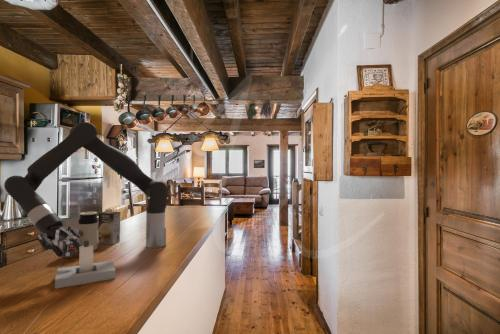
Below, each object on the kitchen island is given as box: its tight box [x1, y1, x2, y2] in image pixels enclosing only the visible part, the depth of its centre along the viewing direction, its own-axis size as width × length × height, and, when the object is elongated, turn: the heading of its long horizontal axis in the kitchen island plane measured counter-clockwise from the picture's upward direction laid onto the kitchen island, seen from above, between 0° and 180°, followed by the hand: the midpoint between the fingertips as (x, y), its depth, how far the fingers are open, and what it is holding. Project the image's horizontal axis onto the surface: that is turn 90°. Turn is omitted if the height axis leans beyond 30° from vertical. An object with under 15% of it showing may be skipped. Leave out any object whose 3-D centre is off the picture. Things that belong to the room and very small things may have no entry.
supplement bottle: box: [61, 234, 79, 259], centre depth 127 cm, size 6×6×11 cm
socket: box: [54, 260, 116, 290], centre depth 103 cm, size 18×12×3 cm, turn 121°
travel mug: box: [78, 211, 99, 252], centre depth 137 cm, size 8×8×18 cm
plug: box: [78, 240, 94, 273], centre depth 103 cm, size 4×4×13 cm
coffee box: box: [97, 210, 121, 245], centre depth 152 cm, size 9×6×16 cm
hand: (71, 252), depth 104 cm, fingers open, 8 cm apart
